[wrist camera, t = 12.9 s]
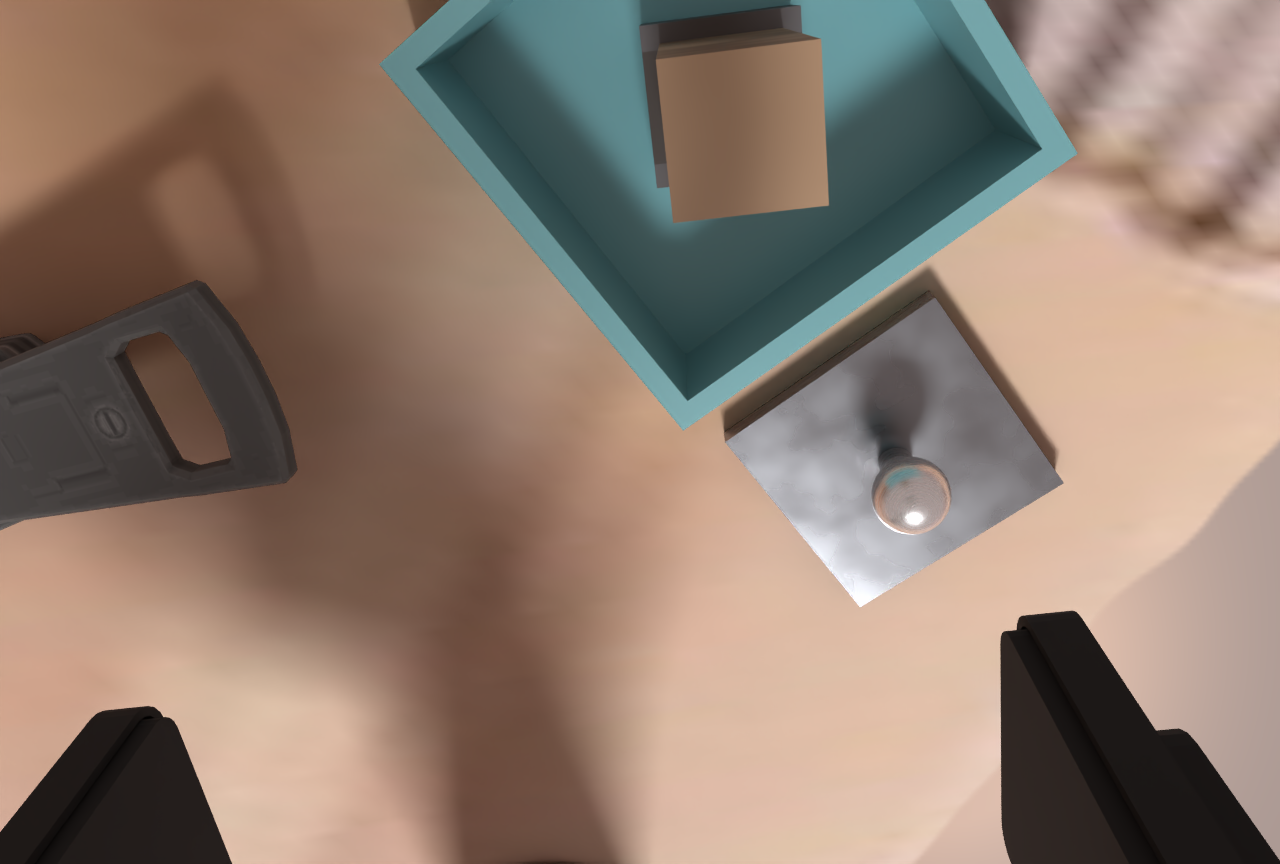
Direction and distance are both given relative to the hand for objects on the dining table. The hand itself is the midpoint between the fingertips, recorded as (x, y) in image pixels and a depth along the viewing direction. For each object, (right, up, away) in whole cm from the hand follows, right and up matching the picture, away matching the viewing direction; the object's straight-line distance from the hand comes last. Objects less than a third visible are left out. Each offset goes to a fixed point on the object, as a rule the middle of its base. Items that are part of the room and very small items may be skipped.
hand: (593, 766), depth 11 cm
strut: (+3, +16, +25) cm, 30 cm away
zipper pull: (-24, +5, +32) cm, 41 cm away
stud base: (+11, +3, +31) cm, 33 cm away
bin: (+4, +16, +26) cm, 31 cm away
